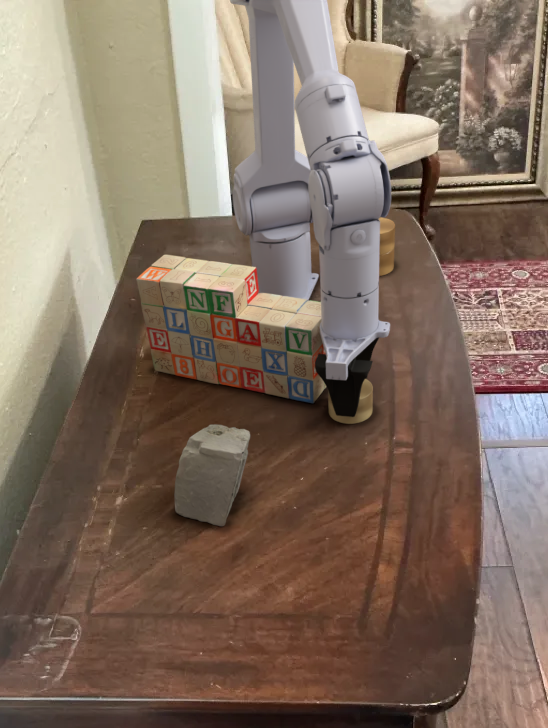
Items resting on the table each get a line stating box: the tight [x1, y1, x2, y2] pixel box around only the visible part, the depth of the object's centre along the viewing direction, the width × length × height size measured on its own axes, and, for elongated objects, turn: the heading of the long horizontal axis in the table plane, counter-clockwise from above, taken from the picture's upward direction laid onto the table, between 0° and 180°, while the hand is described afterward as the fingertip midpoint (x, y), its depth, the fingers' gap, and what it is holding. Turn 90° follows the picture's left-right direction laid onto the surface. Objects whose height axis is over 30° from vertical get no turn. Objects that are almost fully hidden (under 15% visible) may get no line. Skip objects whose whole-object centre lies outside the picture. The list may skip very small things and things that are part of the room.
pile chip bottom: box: [379, 248, 395, 277], centre depth 118 cm, size 5×5×3 cm
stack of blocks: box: [135, 254, 327, 404], centre depth 98 cm, size 21×6×12 cm, turn 63°
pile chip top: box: [379, 217, 396, 255], centre depth 116 cm, size 5×5×3 cm
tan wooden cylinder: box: [327, 378, 374, 425], centre depth 94 cm, size 5×5×3 cm
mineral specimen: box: [173, 424, 251, 527], centre depth 83 cm, size 7×9×8 cm
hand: (350, 400), depth 94 cm, fingers closed on tan wooden cylinder, 5 cm apart
